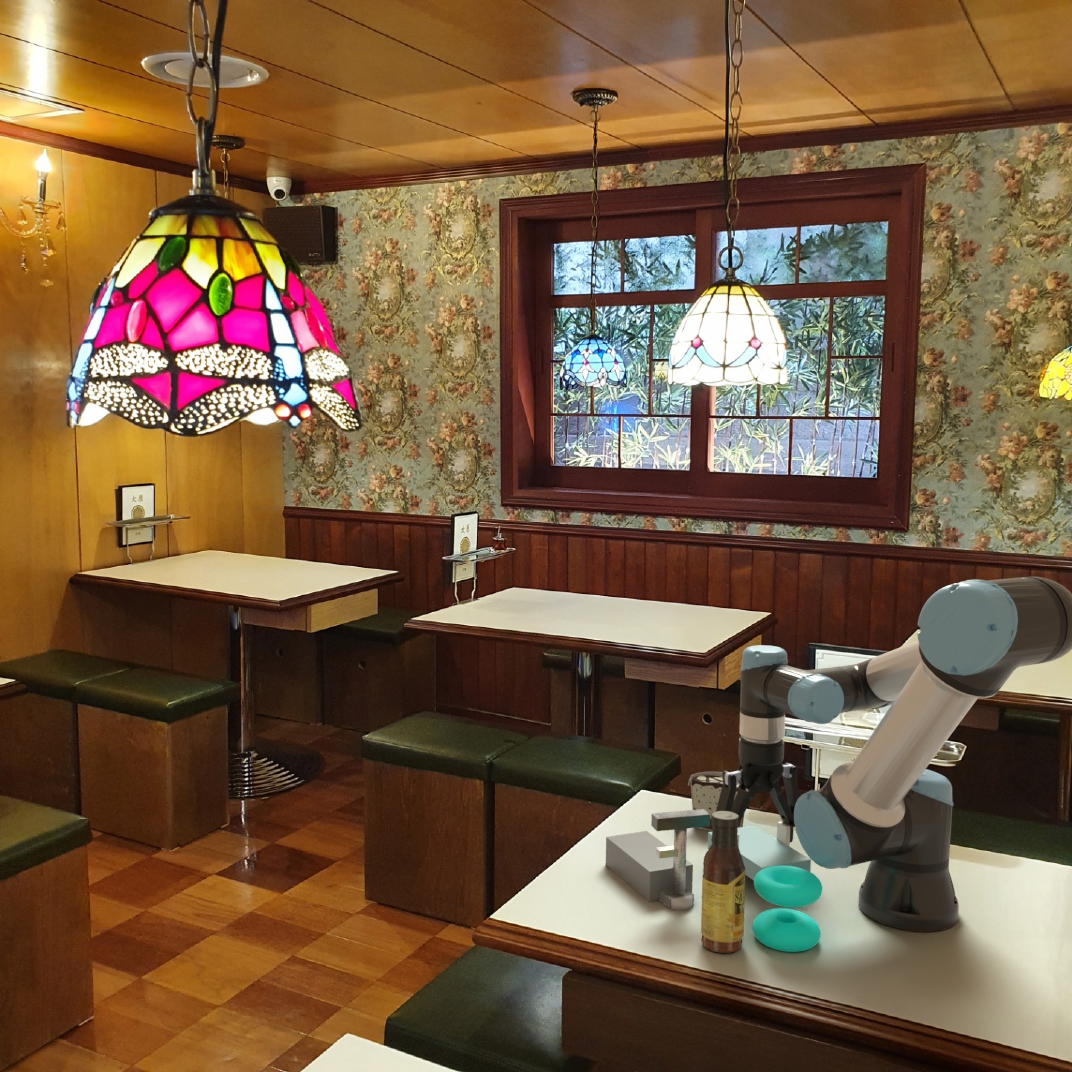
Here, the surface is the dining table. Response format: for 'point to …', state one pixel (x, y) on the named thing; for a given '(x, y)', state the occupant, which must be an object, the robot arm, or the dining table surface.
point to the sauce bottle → (723, 887)
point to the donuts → (785, 924)
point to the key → (678, 839)
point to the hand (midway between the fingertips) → (757, 864)
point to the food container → (708, 792)
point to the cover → (765, 851)
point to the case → (647, 868)
